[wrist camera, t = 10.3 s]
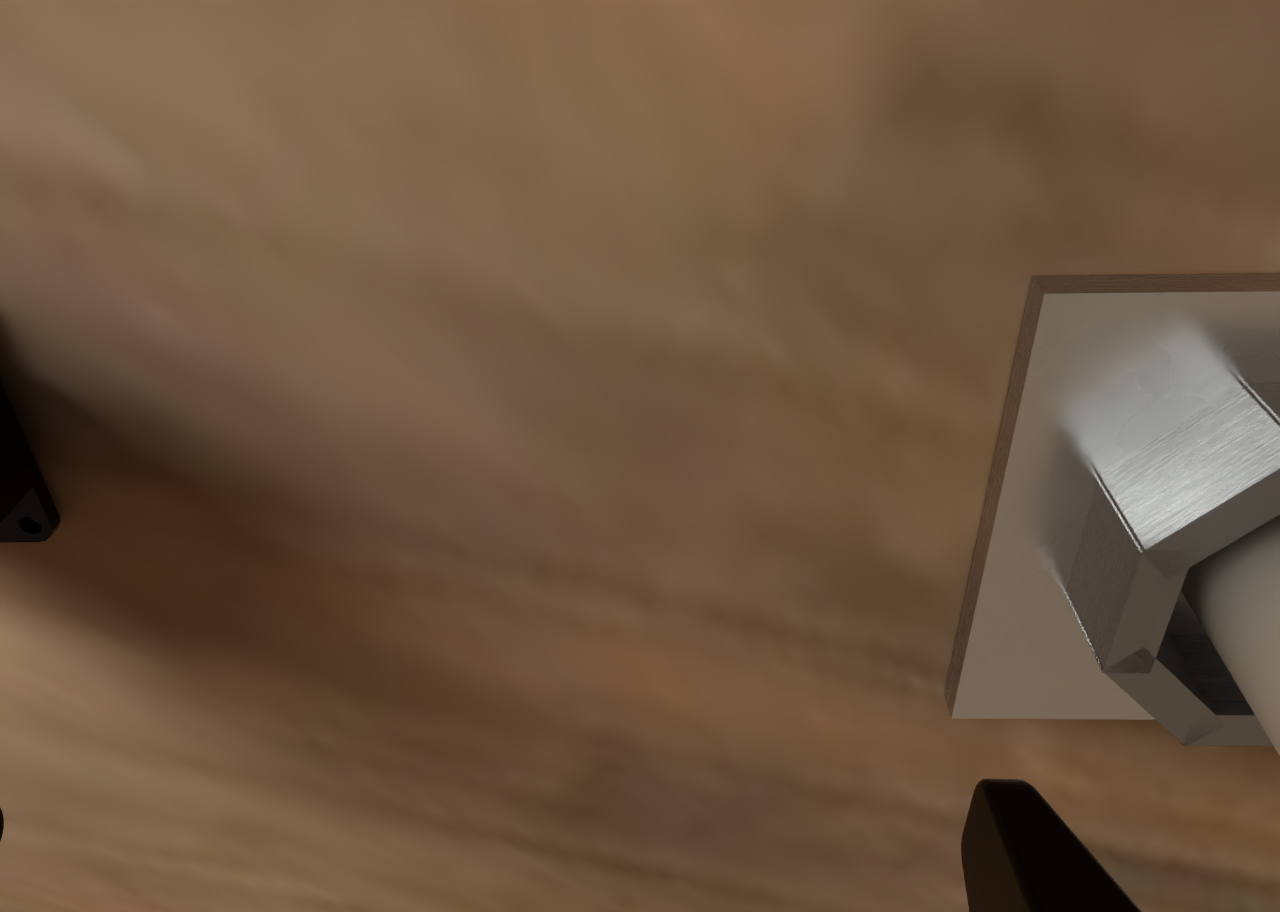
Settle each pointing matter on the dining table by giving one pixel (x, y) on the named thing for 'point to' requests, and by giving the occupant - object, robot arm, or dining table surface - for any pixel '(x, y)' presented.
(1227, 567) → the beige cylinder
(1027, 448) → the square plate with nut
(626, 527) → the dining table surface
